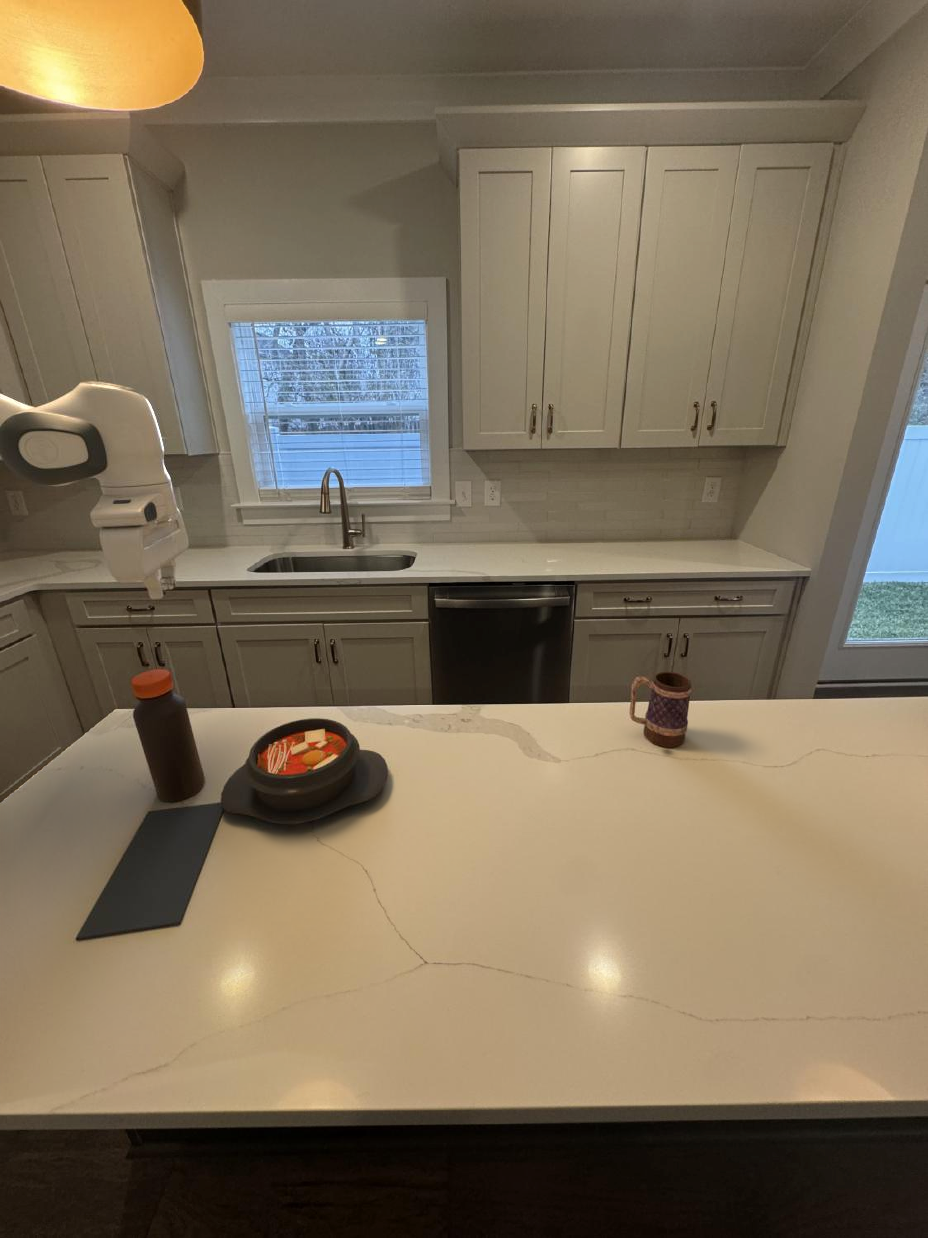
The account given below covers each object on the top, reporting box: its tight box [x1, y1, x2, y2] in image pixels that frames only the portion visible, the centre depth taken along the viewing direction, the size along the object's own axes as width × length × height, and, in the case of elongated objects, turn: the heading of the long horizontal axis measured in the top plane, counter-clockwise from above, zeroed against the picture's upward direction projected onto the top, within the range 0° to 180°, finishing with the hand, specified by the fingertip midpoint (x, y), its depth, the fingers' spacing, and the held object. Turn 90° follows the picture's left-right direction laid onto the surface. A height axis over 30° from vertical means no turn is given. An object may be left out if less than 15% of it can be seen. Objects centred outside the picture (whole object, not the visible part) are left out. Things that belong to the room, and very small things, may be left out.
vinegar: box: [130, 668, 206, 803], centre depth 77 cm, size 7×7×20 cm
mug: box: [628, 671, 692, 748], centre depth 89 cm, size 10×7×12 cm
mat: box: [75, 801, 225, 941], centre depth 67 cm, size 11×20×1 cm, turn 9°
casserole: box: [220, 717, 389, 825], centre depth 78 cm, size 25×19×8 cm
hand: (164, 592), depth 80 cm, fingers open, 3 cm apart
